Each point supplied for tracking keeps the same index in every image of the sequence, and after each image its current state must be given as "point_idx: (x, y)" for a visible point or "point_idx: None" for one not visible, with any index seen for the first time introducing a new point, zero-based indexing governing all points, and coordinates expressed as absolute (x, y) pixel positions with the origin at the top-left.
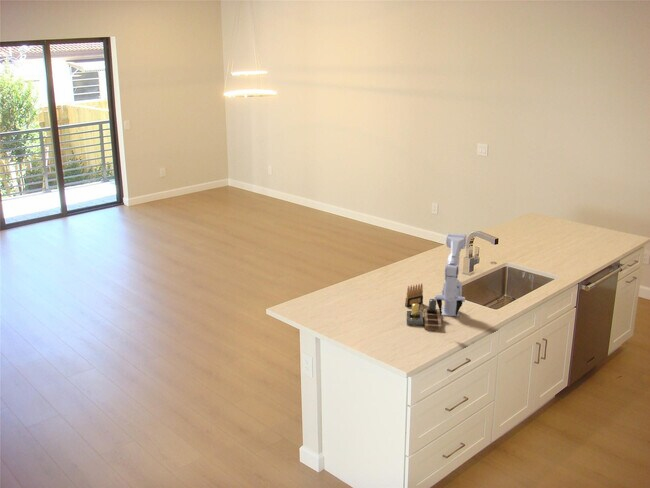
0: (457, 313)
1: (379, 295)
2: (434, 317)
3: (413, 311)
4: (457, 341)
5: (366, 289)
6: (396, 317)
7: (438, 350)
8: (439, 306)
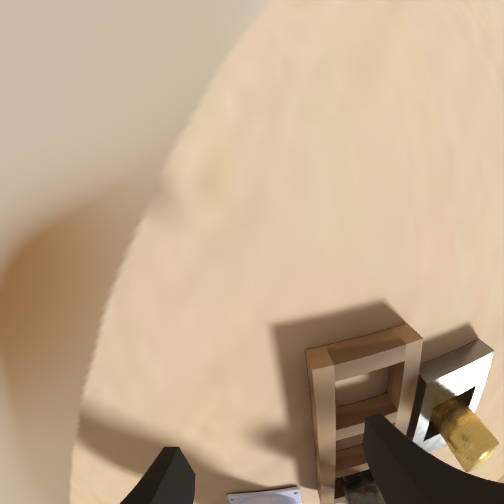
0: (152, 464)
1: (479, 470)
2: (346, 457)
3: (477, 419)
4: (162, 212)
5: (492, 471)
6: (493, 384)
7: (283, 27)
8: (457, 482)
